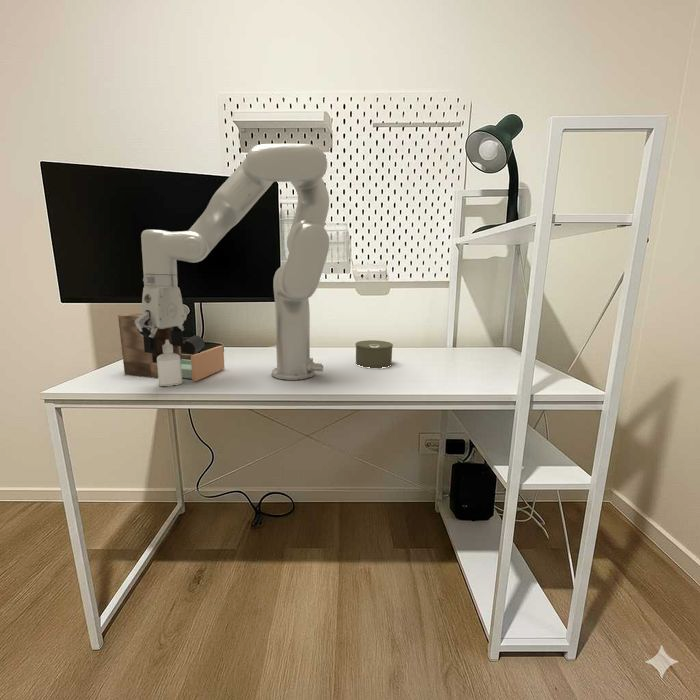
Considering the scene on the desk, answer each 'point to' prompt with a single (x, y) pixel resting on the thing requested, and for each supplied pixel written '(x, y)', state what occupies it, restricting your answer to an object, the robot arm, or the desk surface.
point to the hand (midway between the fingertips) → (164, 349)
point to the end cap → (192, 345)
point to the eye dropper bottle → (169, 366)
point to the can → (374, 353)
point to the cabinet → (142, 347)
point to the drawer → (203, 364)
